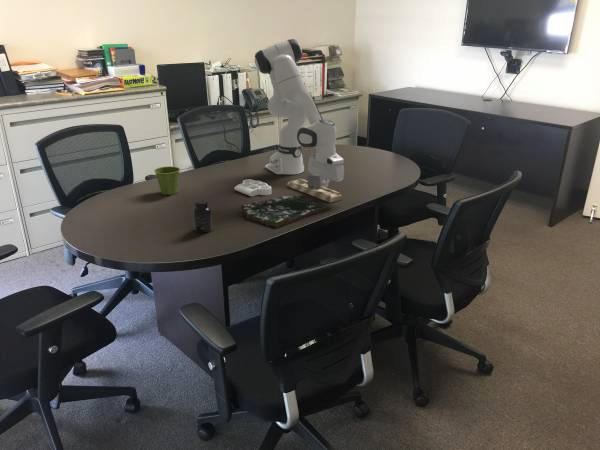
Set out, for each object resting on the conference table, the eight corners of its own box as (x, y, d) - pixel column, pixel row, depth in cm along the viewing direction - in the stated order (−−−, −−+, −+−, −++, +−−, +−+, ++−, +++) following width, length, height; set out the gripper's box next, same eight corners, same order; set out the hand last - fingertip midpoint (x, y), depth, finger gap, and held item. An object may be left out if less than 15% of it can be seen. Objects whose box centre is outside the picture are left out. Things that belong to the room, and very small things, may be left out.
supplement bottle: (195, 226, 202) (193, 198, 197) (212, 226, 202) (211, 198, 198) (193, 234, 195) (191, 204, 191) (211, 233, 196) (209, 204, 191)
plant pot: (187, 190, 241) (185, 168, 237) (171, 198, 231) (169, 174, 227) (167, 187, 246) (165, 164, 241) (151, 194, 236) (148, 171, 231)
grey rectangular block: (307, 187, 240) (308, 175, 237) (314, 185, 242) (314, 173, 240) (313, 189, 237) (313, 177, 234) (319, 187, 239) (320, 175, 237)
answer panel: (287, 186, 249) (287, 180, 247) (298, 183, 253) (298, 177, 252) (330, 202, 228) (331, 196, 227) (341, 199, 232) (342, 193, 231)
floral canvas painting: (327, 210, 221) (327, 203, 220) (271, 231, 200) (270, 224, 199) (286, 195, 238) (286, 189, 237) (230, 213, 217) (230, 206, 215)
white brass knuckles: (230, 190, 244) (254, 183, 253) (254, 199, 232) (278, 192, 241) (230, 183, 242) (254, 177, 252) (253, 192, 231) (278, 185, 240)
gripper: (304, 153, 233) (304, 182, 238) (336, 162, 218) (335, 193, 224) (315, 151, 236) (314, 179, 242) (346, 160, 222) (345, 190, 228)
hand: (324, 186), depth 233 cm, fingers closed
